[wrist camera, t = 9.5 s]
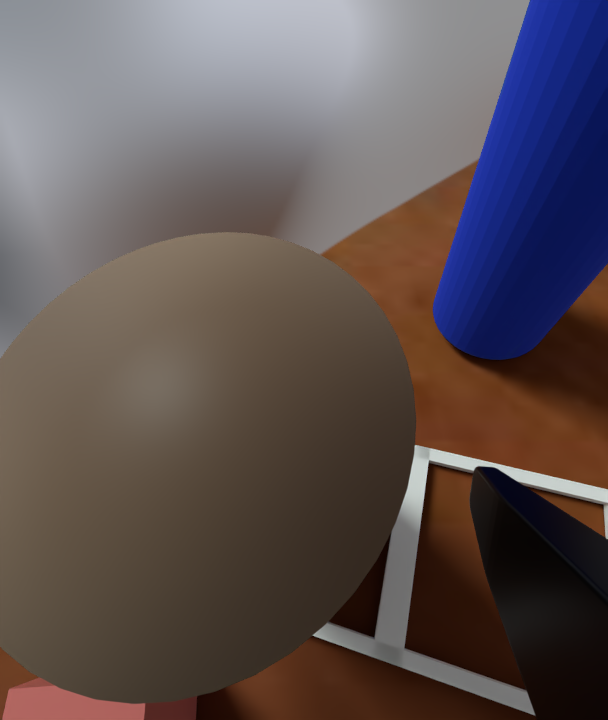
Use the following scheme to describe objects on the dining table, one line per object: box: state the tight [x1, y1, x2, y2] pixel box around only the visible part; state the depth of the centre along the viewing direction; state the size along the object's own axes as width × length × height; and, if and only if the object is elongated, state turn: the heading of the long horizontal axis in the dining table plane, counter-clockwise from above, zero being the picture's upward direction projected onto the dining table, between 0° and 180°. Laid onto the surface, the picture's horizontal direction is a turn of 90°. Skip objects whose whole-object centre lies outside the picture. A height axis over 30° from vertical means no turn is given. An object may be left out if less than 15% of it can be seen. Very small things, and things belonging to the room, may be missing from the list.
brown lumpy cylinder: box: [0, 232, 416, 704], centre depth 10 cm, size 5×5×13 cm
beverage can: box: [433, 0, 608, 360], centre depth 12 cm, size 5×5×15 cm
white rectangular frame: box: [312, 445, 608, 715], centre depth 15 cm, size 8×15×1 cm, turn 74°
